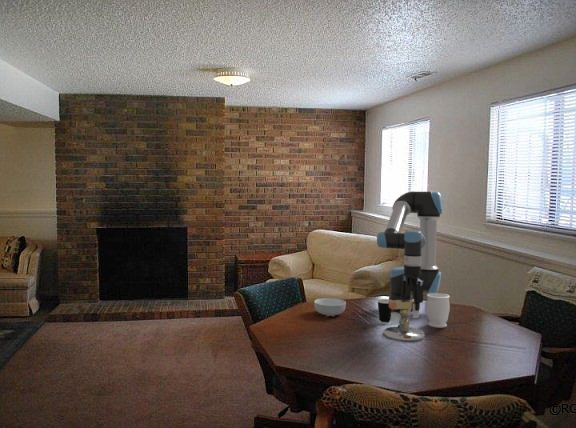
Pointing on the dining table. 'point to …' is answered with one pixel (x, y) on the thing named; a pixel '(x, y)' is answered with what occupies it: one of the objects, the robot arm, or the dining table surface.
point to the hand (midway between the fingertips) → (411, 315)
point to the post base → (404, 333)
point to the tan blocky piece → (402, 309)
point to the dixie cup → (384, 311)
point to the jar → (438, 309)
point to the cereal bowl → (329, 306)
